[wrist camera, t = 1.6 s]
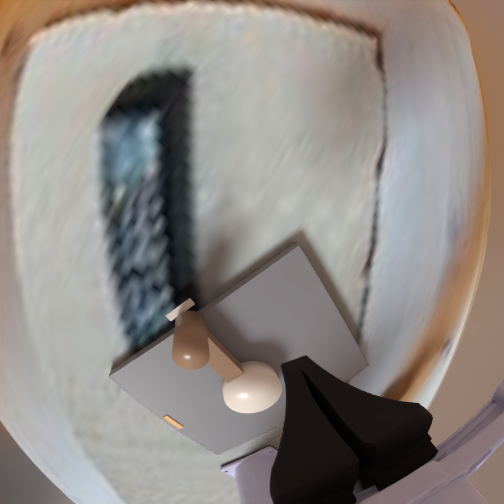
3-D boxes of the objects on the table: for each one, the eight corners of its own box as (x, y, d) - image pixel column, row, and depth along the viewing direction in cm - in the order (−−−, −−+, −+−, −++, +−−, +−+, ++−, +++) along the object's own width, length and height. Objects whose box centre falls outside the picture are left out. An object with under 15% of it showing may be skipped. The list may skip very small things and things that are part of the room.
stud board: (364, 359, 26) (369, 365, 25) (216, 448, 26) (217, 455, 25) (284, 225, 21) (288, 228, 20) (98, 358, 21) (95, 365, 20)
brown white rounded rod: (286, 382, 23) (301, 413, 19) (242, 408, 23) (251, 440, 19) (207, 293, 20) (210, 321, 16) (156, 328, 20) (149, 361, 16)
